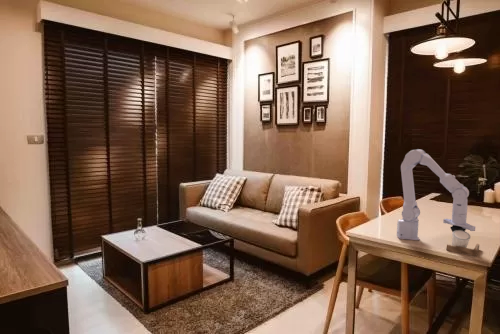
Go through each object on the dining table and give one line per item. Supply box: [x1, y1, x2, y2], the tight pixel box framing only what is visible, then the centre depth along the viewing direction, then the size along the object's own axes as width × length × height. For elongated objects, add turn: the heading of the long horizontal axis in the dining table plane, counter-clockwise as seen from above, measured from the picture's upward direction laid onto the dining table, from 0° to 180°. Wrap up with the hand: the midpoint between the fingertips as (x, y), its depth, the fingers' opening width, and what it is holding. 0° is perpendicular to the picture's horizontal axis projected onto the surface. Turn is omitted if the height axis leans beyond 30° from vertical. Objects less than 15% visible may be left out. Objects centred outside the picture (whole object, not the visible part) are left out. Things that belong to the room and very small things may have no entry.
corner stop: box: [446, 243, 480, 257], centre depth 147 cm, size 9×16×2 cm, turn 95°
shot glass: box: [451, 230, 471, 248], centre depth 150 cm, size 7×7×7 cm
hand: (457, 242), depth 155 cm, fingers closed, pressing on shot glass
